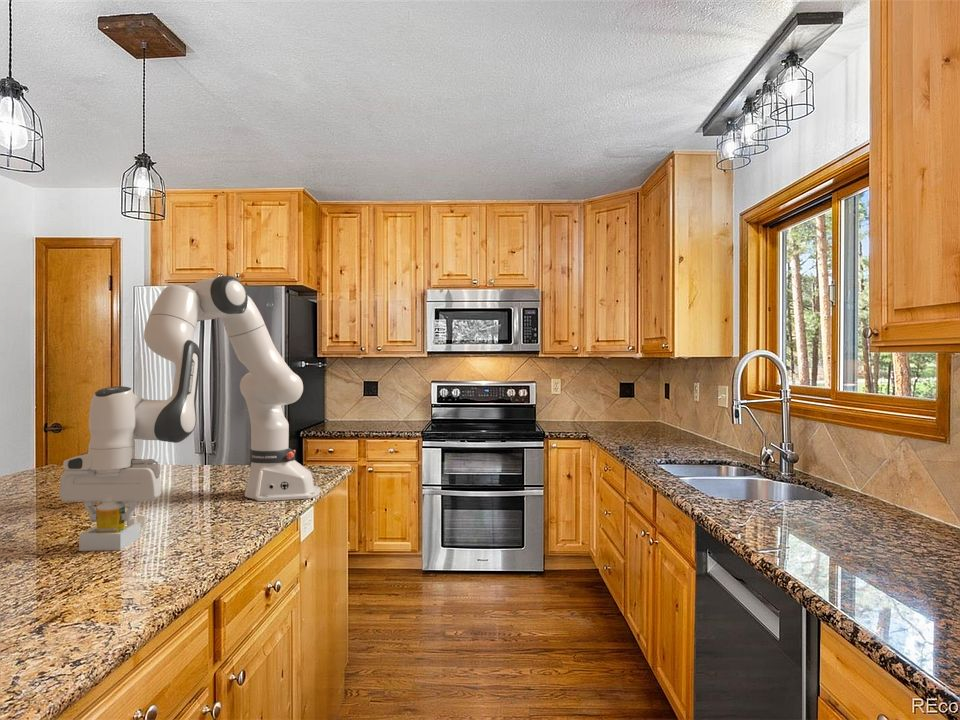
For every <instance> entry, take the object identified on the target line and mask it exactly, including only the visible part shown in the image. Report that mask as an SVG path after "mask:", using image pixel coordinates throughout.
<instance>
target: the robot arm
mask: <svg viewBox="0 0 960 720" xmlns="http://www.w3.org/2000/svg"><path fill="white" fill-rule="evenodd" d="M218 318H219V319H220V320H221V322H222V323H223V327H224V329H225V332H226V334H227V337H228V339H229V341H230V344H231V346H232V348H233V350H234V353H235V355H236V357H237V359H238V361H239V362H240V363H241V364H243V366H245V368H246V369H247V370H248V371H249V372H247V373H246V374H244V376H242V378H241V379H240V383H239V391H240V393H241V395H242V397H243V398H244V400H245V402H246V406H247V407H246V408H247V411H248V415H249V421H250V449H249V453H248V465H249V466H248V467H249V474H248V479H247V485H246V488H245V492H244V497H246V498H248V499H252V500H255V501H258V502H265V501H266V502H267V501H268V502H270V501H285V500H286V501H287V500H304V499H305V500H306V499H311V498H315V497H317V496H318V495H320V494H321V487H320V486H318V485H314V478H313V474H312V472H311V471H310V469H308V468H307V467H305V466H303V465H302V464H301V463H299V462H298V461H297V460H296V449H292V448H290V447H289V443H290V441H289V438H290V432H289V431H290V430H289V429H290V427H289V426H290V424H289V421H288V419H287V418H286V417H285V414H284V411H283V408H282V406H286V405H290V404H293V403H295V402H297V401H298V400H300V399H301V396H302V394H303V392H304V384H303V379H302V378H301V377H300V376H299V375H298V374H297V373H295V372H294V371H293V370H292V369H291V368H290V366H289V365H288V364H287V362H285V361H286V360H285V359H284V358H283V357H282V355H281V354H280V353H279V351H278V349H277V348H276V346H275V344H274V342H273V340H272V337H271V335H270V333H269V330H268V328H267V325H266V323H265V321H264V318H263V316H262V314H261V312H260V310H259V309H258V307H257V305H256V304H255V301H254V300H253V299H252V297H250V296H249V295H248V292H247V289H246V288H245V286H244V284H243V283H242V282H241V281H240V280H239V279H238V278H236V277H234V276H230V275H219V276H217V277H210V278H204V279H201V280H199V281H197V282H194V283H191V284H187V285H181V284H171V285H167V286H166V287H165V288H163V290H162V291H161V292H160V294H159V295H158V297H157V298H156V301H155V303H154V304H153V306H152V308H151V310H150V313H149V316H148V318H147V321H146V323H145V328H144V331H143V339H144V341H145V343H146V346H147V347H148V348H149V349H150V350H151V351H152V352H153V353H155V354H156V355H157V356H159V357H161V358H163V359H166V360H168V361H169V362H172V363H174V365H175V367H174V368H175V372H174V379H173V386H172V387H173V388H172V394H171V396H169V398H167V399H164V400H163V399H145V398H144V397H140V396H138V395H137V394H135V393H134V391H133V388H131V387H129V386H122V385H121V386H120V385H119V386H110V387H103V388H100V389H98V390H97V391H95V392H94V393H93V395H92V397H91V401H90V404H89V405H90V406H89V412H88V413H89V414H88V430H89V433H90V440H89V443H88V452H85V453H82V454H79V455H77V456H73V457H71V458H68V459H64V461H62V462H63V463H62V466H63V470H64V471H63V472H62V474H61V476H60V479H59V492H58V496H59V498H60V499H61V501H62V502H63V503H70V502H71V503H72V502H73V503H77V502H80V503H81V502H83V507H84V508H85V510H86V512H87V513H88V515H89V522H97V507H95V505H96V504H97V502H99V503H100V502H102V496H103V495H112V501H123V502H126V506H127V507H128V508H127V510H125V512H124V513H122V518H121V520H122V521H125V522H127V521H130V520H131V519H132V517H133V512H134V510H135V509H136V507H137V505H138V504H139V502H152V501H155V500H156V499H158V498H159V497H160V496H161V494H162V483H161V478H160V477H161V472H162V471H161V470H162V469H161V464H160V463H159V462H158V461H156V460H155V459H153V458H148V459H147V458H145V459H144V458H136V440H141V441H142V440H143V441H161V442H167V443H176V444H177V443H181V442H183V441H184V440H186V439H187V438H188V437H189V436H190V435H191V434H192V433H193V432H194V430H195V428H196V425H197V395H198V386H199V380H200V378H199V377H200V369H201V351H200V347H199V345H198V344H197V343H196V342H195V340H194V338H195V337H194V336H195V331H196V327H197V325H198V324H197V323H198V322H201V321H208V320H215V319H218Z"/></svg>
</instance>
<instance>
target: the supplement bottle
mask: <svg viewBox="0 0 960 720" xmlns="http://www.w3.org/2000/svg"><path fill="white" fill-rule="evenodd" d="M96 510H97V521H96V526H97V529H96V533H119V532H120V531H122V530H124V529H126V521H122V520H121V518H122V513H124V512H126V503H125V501H112V495H103V496H102V501H101V502H99V504H98V505H97V506H96Z"/></svg>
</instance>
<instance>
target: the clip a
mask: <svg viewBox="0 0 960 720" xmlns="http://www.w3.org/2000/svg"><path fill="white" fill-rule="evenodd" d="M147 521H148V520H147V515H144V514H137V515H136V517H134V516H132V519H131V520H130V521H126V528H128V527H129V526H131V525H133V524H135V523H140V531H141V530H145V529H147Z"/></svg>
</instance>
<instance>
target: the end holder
mask: <svg viewBox="0 0 960 720" xmlns="http://www.w3.org/2000/svg"><path fill="white" fill-rule="evenodd" d="M96 529H97V525H96V526H93V527H91V528H89V529H87V530H85V531H84V532H81V533H79V535H78V551H79V552H85V551H86V552H87V551H88V552H89V551H91V552H92V551H93V552H95V551H122V550H124V549H125V548H127V547H128V546H129V545H131V544H133V543H134V542H136V541H137V540H139V539H140V538H141V530H140V523H135V524H133V525H131V526H129V527H128V528H127V527H125V529H124V530H122V531H120V532H119V533H96Z"/></svg>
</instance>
